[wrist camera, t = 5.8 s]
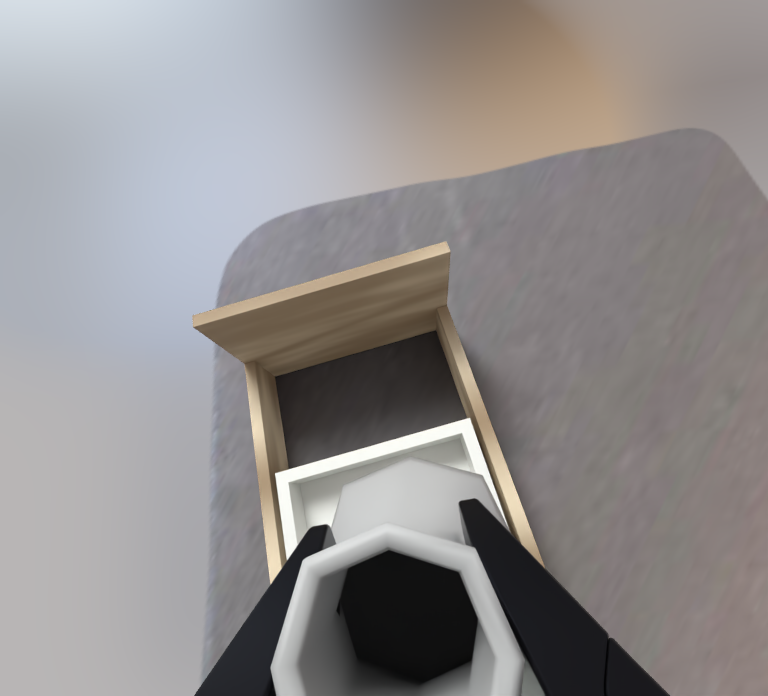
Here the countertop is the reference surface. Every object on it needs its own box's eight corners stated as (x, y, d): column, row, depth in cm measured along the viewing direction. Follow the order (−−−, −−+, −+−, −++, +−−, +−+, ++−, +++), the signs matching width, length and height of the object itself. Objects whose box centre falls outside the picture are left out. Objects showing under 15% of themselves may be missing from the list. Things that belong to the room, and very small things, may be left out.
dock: (535, 576, 19) (602, 626, 11) (302, 641, 19) (218, 732, 11) (442, 319, 24) (446, 241, 17) (264, 370, 25) (192, 315, 17)
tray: (582, 765, 16) (643, 875, 11) (348, 828, 16) (313, 962, 11) (465, 427, 21) (473, 407, 17) (294, 476, 22) (256, 470, 17)
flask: (322, 685, 13) (40, 1154, 4) (322, 463, 16) (165, 404, 6) (541, 679, 12) (884, 1223, 3) (501, 450, 15) (611, 363, 6)
